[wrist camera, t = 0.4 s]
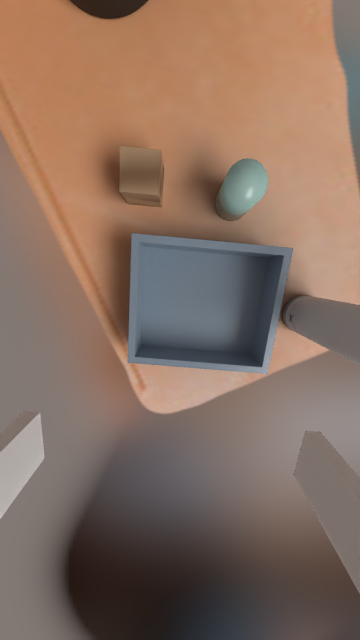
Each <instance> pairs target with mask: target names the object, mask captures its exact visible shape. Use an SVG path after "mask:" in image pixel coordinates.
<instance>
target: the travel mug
mask: <svg viewBox="0 0 360 640" xmlns="http://www.w3.org/2000/svg"><path fill="white" fill-rule="evenodd" d="M283 321H284V323H285V325H286V326H287V327H288V328H289V329H291V330H292V331H294V332H296V333H298V334H300V335H302V336H304V337H306V338H308V339H310V340H312V341H314V342H316V343H317V344H319V345H321V346H323V347H325V348H327V349H329V350H331V351H333V352H335V353H337V354H339V355H341V356H343V357H344V358H346V359H348V360H350V361H352V362H354V363H356V364H358V365H360V305H356V304H350V303H345V302H340V301H334V300H329V299H323V298H318V297H312V296H307V295H301V296H297V297H295V298H293V299H291V300H290V301H289V302H288V303H287V304H286V306H285V308H284V311H283Z"/></svg>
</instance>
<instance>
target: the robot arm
mask: <svg viewBox="0 0 360 640" xmlns="http://www.w3.org/2000/svg"><path fill="white" fill-rule="evenodd" d="M71 1H72V2H73V3H74V4H76V5H77V6H78V7H79V8H81V9H82V10H84V11H86V12H88V13H90V14H92V15H95V16H98V17H102V18H119V17H123V16H126V15H129V14H131V13H133V12H135V11H136V10H138V9H139V8H140V7H141V6H143V5H144V4H145V3H146V2H147V1H148V0H71ZM43 459H44V450H43V440H42V428H41V418H40V412H27V411H24V412H23V413H22V414H21V415H19V416H18V417H17V418H16V419H15V420H14V421H13V422H12V423H11V424H9V425H8V426H7V427H6V428H5V429H4V430H3V431H2V432H1V433H0V518H1V517H2V515H3V514H4V513H5V512H6V510H7V509H8V507H9V506H10V505H11V503H12V502H13V501H14V499H15V498H16V496H17V495H18V493H19V492H20V491H21V490H22V488H23V487H24V485H25V484H26V483H27V481H28V480H29V478H30V477H31V476H32V474H33V473H34V471H35V470H36V469H37V467H38V466H39V465H40V463H41V462H42V461H43ZM294 476H295V478H296V480H297V482H298V483H299V485H300V487H301V489H302V491H303V492H304V494H305V496H306V497H307V500H308V501H309V503H310V505H311V507H312V509H313V510H314V512H315V514H316V516H317V518H318V519H319V521H320V523H321V525H322V526H323V528H324V530H325V532H326V534H327V536H328V537H329V539H330V541H331V543H332V545H333V546H334V548H335V550H336V552H337V553H338V555H339V557H340V559H341V561H342V563H343V564H344V566H345V568H346V569H347V572H348V573H349V575H350V577H351V579H352V581H353V582H354V584H355V586H356V588H357V590H358V591H359V593H360V477H359V476H358V475H357V474H356V472H355V471H354V470H353V469H352V468H351V467H350V466H349V464H348V463H347V462H346V461H345V460H344V459H343V457H342V456H341V455H340V454H339V453H338V452H337V451H336V449H335V448H334V447H333V446H332V445H331V444H330V443H329V442H328V440H327V439H326V438H325V437H324V436H323V434H322V433H321V432H314V431H305V434H304V437H303V441H302V445H301V448H300V452H299V456H298V460H297V463H296V467H295V471H294Z"/></svg>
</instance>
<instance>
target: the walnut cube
mask: <svg viewBox="0 0 360 640" xmlns="http://www.w3.org/2000/svg"><path fill="white" fill-rule="evenodd" d="M163 179H164V166H163V160H162V154H161V150H156V149H146V148H136V147H126V146H120V179H119V192H120V193H121V194H122V196H123V197H124V198H125V200H126V201H127V202H128V204H133V205H143V206H154V207H162V196H163Z"/></svg>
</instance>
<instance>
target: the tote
mask: <svg viewBox="0 0 360 640" xmlns="http://www.w3.org/2000/svg"><path fill="white" fill-rule="evenodd" d="M292 252H293V248H286V247H276V246H265V245H254V244H243V243H233V242H222V241H211V240H200V239H189V238H179V237H168V236H157V235H146V234H136V233H132V238H131V271H130V304H129V338H128V363H138V364H151V365H163V366H175V367H188V368H200V369H213V370H225V371H237V372H250V373H262V374H268V369H269V365H270V360H271V355H272V350H273V345H274V340H275V335H276V330H277V325H278V321H279V316H280V311H281V306H282V301H283V296H284V291H285V286H286V281H287V276H288V272H289V267H290V262H291V257H292Z"/></svg>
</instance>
